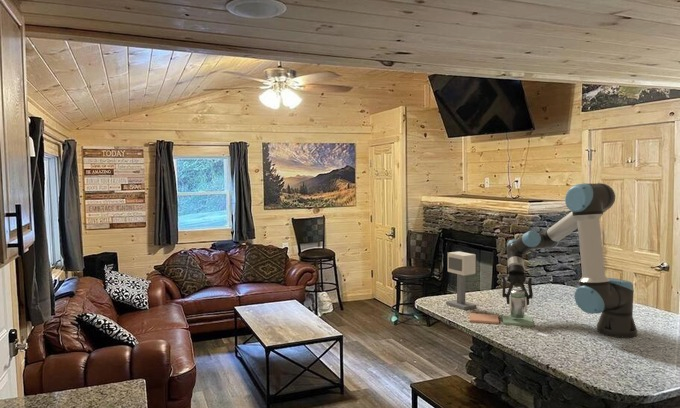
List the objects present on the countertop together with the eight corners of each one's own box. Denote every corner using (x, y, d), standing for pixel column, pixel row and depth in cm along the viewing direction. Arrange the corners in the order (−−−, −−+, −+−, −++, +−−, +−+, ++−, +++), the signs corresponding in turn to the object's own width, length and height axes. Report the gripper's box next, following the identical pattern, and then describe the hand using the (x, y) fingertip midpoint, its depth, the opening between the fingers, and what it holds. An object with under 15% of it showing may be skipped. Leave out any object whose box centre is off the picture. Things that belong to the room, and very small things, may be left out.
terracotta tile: (498, 323, 228) (498, 321, 228) (469, 321, 231) (469, 319, 231) (497, 317, 239) (497, 315, 239) (469, 315, 242) (469, 313, 242)
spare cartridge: (525, 318, 227) (525, 292, 226) (511, 317, 229) (511, 292, 228) (523, 315, 233) (524, 289, 232) (510, 314, 235) (510, 289, 234)
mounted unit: (463, 310, 251) (463, 256, 249) (445, 304, 262) (446, 252, 261) (476, 307, 256) (477, 254, 254) (458, 301, 267) (459, 251, 265)
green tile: (533, 326, 224) (533, 324, 224) (503, 324, 227) (503, 322, 227) (531, 319, 235) (531, 317, 235) (502, 317, 238) (502, 315, 238)
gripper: (536, 273, 242) (539, 315, 227) (495, 271, 247) (496, 313, 232) (537, 264, 237) (541, 307, 222) (495, 263, 242) (496, 304, 227)
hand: (518, 310), depth 227 cm, fingers closed on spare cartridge, 6 cm apart
